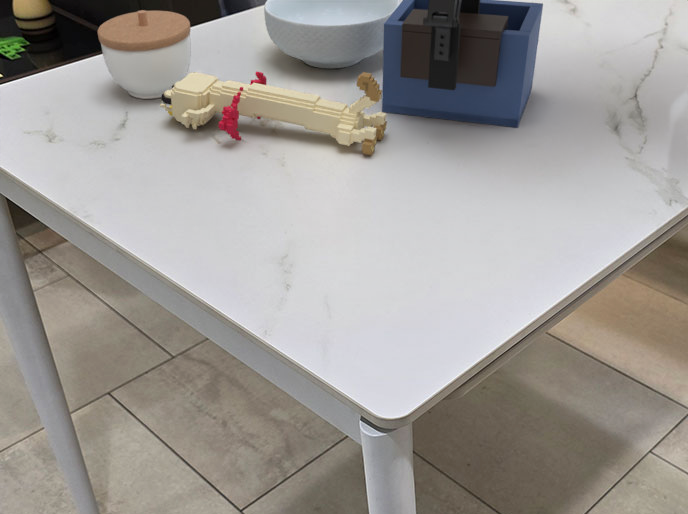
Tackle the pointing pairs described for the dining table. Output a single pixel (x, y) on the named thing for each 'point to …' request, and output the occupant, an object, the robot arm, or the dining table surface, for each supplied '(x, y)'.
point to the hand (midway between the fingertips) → (452, 68)
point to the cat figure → (276, 107)
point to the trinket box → (146, 51)
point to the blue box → (467, 99)
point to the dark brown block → (474, 47)
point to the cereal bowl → (328, 29)
